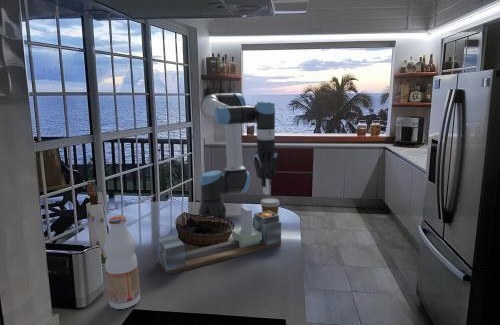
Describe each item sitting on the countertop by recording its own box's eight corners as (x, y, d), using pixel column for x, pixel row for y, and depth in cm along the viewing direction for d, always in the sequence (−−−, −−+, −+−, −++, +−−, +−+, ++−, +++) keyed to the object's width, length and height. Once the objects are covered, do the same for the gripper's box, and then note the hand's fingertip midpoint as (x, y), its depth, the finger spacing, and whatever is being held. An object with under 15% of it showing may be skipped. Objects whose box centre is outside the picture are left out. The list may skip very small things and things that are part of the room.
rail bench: (158, 261, 142) (156, 231, 139) (266, 235, 166) (266, 209, 164) (167, 274, 132) (165, 242, 129) (281, 244, 156) (281, 216, 154)
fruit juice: (112, 314, 108) (103, 225, 103) (106, 299, 116) (98, 216, 111) (144, 304, 113) (137, 219, 108) (136, 290, 121) (129, 211, 116)
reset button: (258, 218, 158) (258, 214, 158) (268, 216, 161) (268, 211, 160) (264, 222, 154) (264, 217, 154) (274, 220, 156) (274, 215, 156)
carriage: (232, 240, 156) (231, 207, 153) (250, 236, 161) (249, 203, 158) (243, 249, 148) (242, 213, 145) (262, 244, 152) (261, 209, 149)
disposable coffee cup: (279, 220, 185) (279, 197, 183) (279, 227, 176) (279, 203, 174) (261, 219, 186) (261, 197, 184) (260, 226, 177) (259, 203, 175)
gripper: (257, 141, 144) (257, 198, 149) (283, 138, 151) (283, 193, 155) (247, 139, 151) (248, 193, 155) (273, 136, 157) (274, 189, 162)
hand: (266, 193), depth 155 cm, fingers closed
